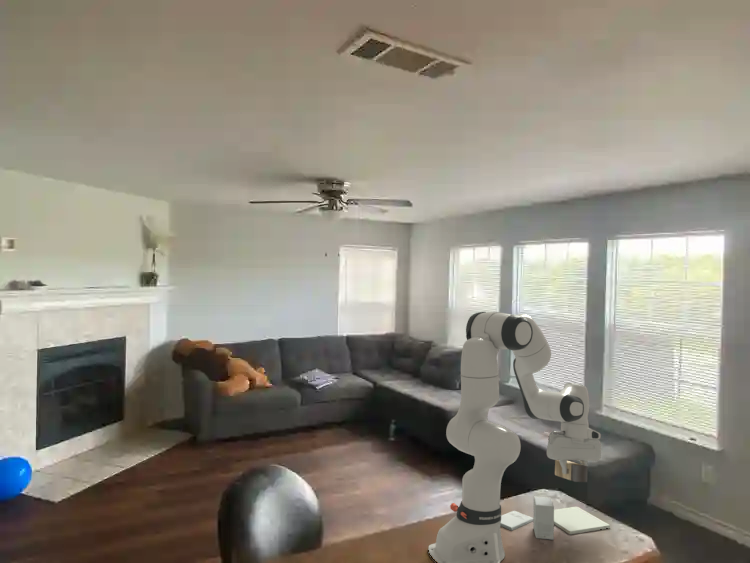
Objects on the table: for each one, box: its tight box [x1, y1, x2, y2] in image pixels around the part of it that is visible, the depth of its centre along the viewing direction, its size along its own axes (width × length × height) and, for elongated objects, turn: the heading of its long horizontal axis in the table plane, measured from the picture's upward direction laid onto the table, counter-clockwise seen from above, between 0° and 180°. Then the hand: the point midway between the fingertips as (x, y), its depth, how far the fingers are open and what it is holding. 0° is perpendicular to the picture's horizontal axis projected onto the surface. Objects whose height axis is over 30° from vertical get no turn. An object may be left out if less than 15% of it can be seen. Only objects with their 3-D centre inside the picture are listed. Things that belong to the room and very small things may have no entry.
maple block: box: [554, 460, 589, 483], centre depth 182 cm, size 5×5×10 cm
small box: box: [532, 495, 555, 541], centre depth 173 cm, size 8×6×10 cm
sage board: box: [554, 506, 611, 535], centre depth 183 cm, size 16×16×1 cm
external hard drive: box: [500, 510, 533, 531], centre depth 182 cm, size 2×8×12 cm
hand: (573, 473), depth 181 cm, fingers closed on maple block, 5 cm apart
